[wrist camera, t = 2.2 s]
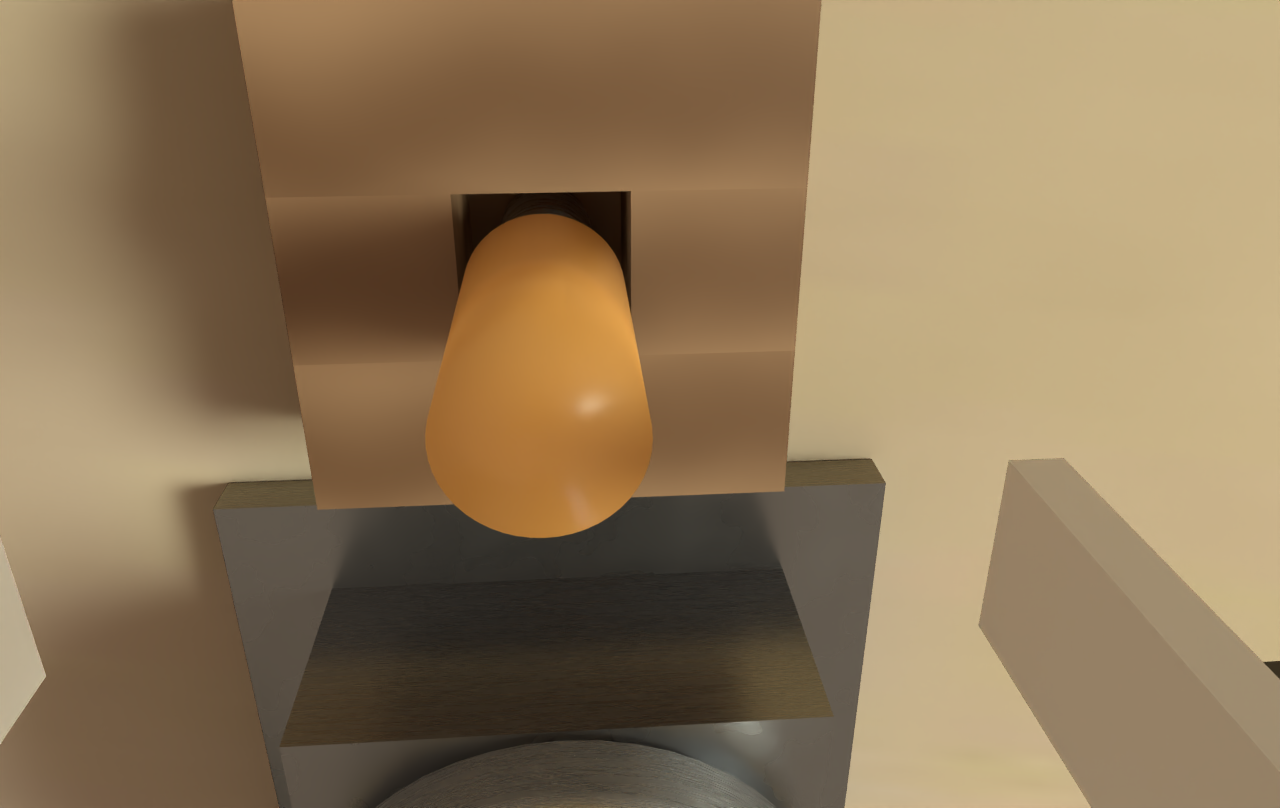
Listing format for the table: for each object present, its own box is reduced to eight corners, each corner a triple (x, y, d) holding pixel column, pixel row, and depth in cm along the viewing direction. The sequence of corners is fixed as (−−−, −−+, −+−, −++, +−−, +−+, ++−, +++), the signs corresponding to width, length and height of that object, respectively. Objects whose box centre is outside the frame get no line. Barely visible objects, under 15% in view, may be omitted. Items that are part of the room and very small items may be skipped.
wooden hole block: (291, -15, 24) (232, 0, 20) (774, -17, 25) (821, -3, 21) (353, 420, 30) (317, 509, 25) (750, 407, 30) (784, 491, 26)
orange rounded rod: (473, 163, 26) (414, 341, 15) (612, 161, 26) (653, 334, 15) (483, 295, 27) (436, 542, 16) (614, 291, 27) (652, 533, 17)
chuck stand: (228, 483, 30) (126, 658, 23) (871, 458, 32) (964, 617, 24) (320, 921, 39) (268, 1146, 32) (820, 887, 40) (877, 1096, 33)
